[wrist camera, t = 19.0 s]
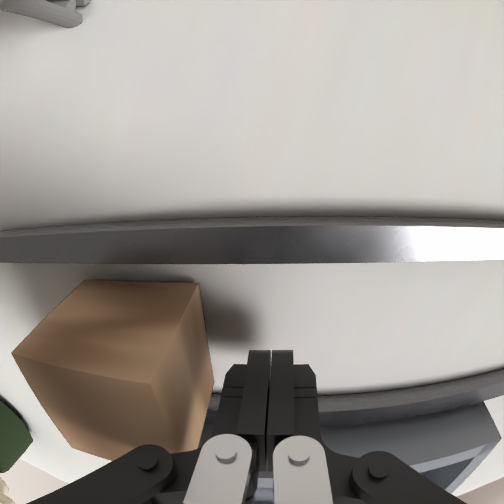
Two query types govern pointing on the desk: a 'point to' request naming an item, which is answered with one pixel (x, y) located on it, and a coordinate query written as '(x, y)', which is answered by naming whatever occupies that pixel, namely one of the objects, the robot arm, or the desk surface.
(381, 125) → the desk surface
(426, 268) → the desk surface
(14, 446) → the character mug
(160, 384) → the slider
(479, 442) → the tray
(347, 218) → the slide rails
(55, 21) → the mechanical component
